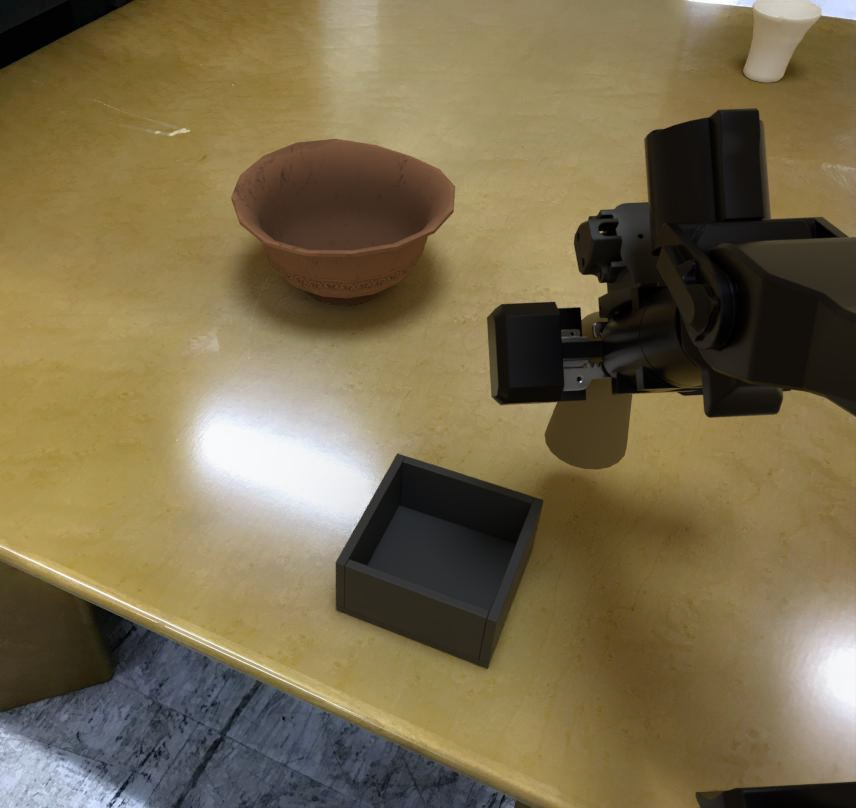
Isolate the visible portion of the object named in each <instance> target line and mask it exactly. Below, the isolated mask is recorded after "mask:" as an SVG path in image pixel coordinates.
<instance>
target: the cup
mask: <svg viewBox="0 0 856 808" xmlns="http://www.w3.org/2000/svg"><path fill="white" fill-rule="evenodd" d="M822 13H823V9H822V7H820V6H819V5H818V4H816V3H814V2H812V1H810V0H755V1H754V2H753V3H752V16H753V29H752V38H751V44H750V48H749V51H748V55H747V58H746V61H745V64H744V66H743V70H742V72H743V75H744V76H745V77H746V78H747V79H749V80H751V81H754V82H759V83H767V84H769V83H776V82H779V81H780V80H781V79H782V78H784V76H785V73H786V71H787V68H788V66H789V63H790V61H791V59H792V57H793V55H794V52H795V50H796V48H798V45H799V44H800V43H801V42H802V41H803V39H804V37H805V36H806V33H807V32H808V31H809V30H810V29H811V28H812V26H814V24H815V23H817V22H818V20H819V19H820V18H821V16H822Z"/></svg>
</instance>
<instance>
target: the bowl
mask: <svg viewBox="0 0 856 808" xmlns="http://www.w3.org/2000/svg"><path fill="white" fill-rule="evenodd" d="M230 198H231V203H232V205H233V209H234V211H235V214H236V217H237V221H238V223H239V225H240V226H241V227H243V228H244V229H245V230H246V231H247V232H248V233H250V234H251V235H252V236H253V237H254V238H256V239H257V240H258V241H259V242H260V243H262V245H263V248H264V250H265V254H266V256H267V258H268V260H269V263H270V265H271V267H272V269H273V270H274V271H275V272H276V273H277V275H279V276H280V277H282V278H283V280H285V281H287V282H288V283H289V284H290V285H292V286H293V287H295V288H296V289H298V290H301V291H304V292H305V293H306V294H308V295H309V296H310V297H311V298H313V300H316V301H318V302H321V303H324V304H327V305H329V306H330V305H331V306H343V307H348V306H355V305H360V304H364V303H366V302H368V301H370V300H373V299H375V298H377V297H378V296H379V295H380V293H381V292H383V291H384V290H387V289H389V288H391V287H394V286H395V285H397V284H398V283H400V282H402V280H403V279H404V278H406V276H408V274H409V273H410V272H411V270H412V269H413V268H414V267H415V266H416V265H417V264H418V262H419V261H420V259H421V257H422V255H423V252H424V251H425V246H426V243H427V240H428V237H430V236H432V235H434V234H435V233H436V232H437V231H438V230H439V229H440V228H441V227H442V226H443V225H444V223H446V222H447V220H448V219H449V218H450V217H452V215H453V214H454V211H455V199H456V186H455V184H454V183H453V182H452V181H451V180H450V179H449V178H448V177H447V175H446V174H445V172H443V171H442V169H440V168H438V167H436V166H434V165H431V164H429V163H427V162H426V161H423V160H421V159H418V158H417V157H414V156H413V155H412V156H411V155H409V154H405V153H402V152H399V151H397V150H393V149H391V148H387V147H385V146H384V147H383V146H381V145H378V144H372V143H366V142H360V141H353V140H348V139H347V140H346V139H339V138H329V139H319V140H308V141H299V142H294V143H292V144H289V145H287V146H285V147H281V148H280V149H277V150H275V151H271V152H270V153H267V154H264V155H262V156H261V157H260V158H259V159H257V160H256V161H255V162H254V163H252V164H251V166H249V167H248V168H247V169H245V170H244V171H243V172H242V173H241V174H239V176H238V179H237V182H236V184H235V187H234V188H233V191H232V194H231V196H230Z"/></svg>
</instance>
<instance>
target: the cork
mask: <svg viewBox="0 0 856 808" xmlns="http://www.w3.org/2000/svg"><path fill="white" fill-rule="evenodd" d="M581 321H582V337H586V336H587V338H588V341H601V338H600V336H599V335H598V338H596V339H594V337H593V335H592V325H593V324H594V323H596V322H608V321H607V318H600V317H599V310H598V311H594V312H591V313H589V314H587V315H585V316H584V317H583V318H581ZM594 362H597V365H598V366H599V363H600V362H603V361H602V359H589V363H591V366H592V365H593V363H594ZM632 401H633V394H623V395H612V385H611V378H602V379H592V380H591V381H590V384H589V385H588V387H587V388H586V400H583V401H561V402H556V403H555V406H554V409H553V412H552V414H551V416H550V418H549V421H548V424H547V426H546V429H545V431H544V440H545V444H546V446H547V448H548V450H549V451H550V452H551V453H552V454H553V455H554V456H555V457H556V458H557V459H558V460H559V461H562V462H563V463H566V464H568V465H569V466H571V467H575V468H579V469H583V470H603V469H608V468H611V467H612V466H614V465H616V464H618V463H620V461H622V459H623V458H624V457H625V456H626V452H627V447H628V440H629V430H630V422H631V421H630V420H631V411H632Z"/></svg>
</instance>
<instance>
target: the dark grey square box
mask: <svg viewBox="0 0 856 808" xmlns="http://www.w3.org/2000/svg"><path fill="white" fill-rule="evenodd" d="M543 506H544V499H542V498H539V497H536V496H533V495H531V494H527V493H524V492H520V491H517V490H514V489H512V488H508V487H504V486H501V485H500V484H499V485H498V484H495V483H492V482H489V481H486V480H483V479H479V478H476V477H473V476H471V475H467V474H464V473H461V472H458V471H454V470H451V469H449V468H444V467H442V466H439V465H435V464H432V463H429V462H426V461H423V460H420V459H417V458H415V457H410V456H407V455H404V454H402V453H396V455H395V456H394V458H393V460H392V462H391V463H390V465H389V467H388V469H387V471H386V473H385V474H384V476H383V478H382V479H381V481H380V483H379V485H378V486H377V488H376V490H375V492H374V494H373V495H372V497H371V499H370V501H369V503H368V504H367V506H366V507H365V509H364V511H363V513H362V515H361V516H360V518H359V520H358V522H357V523H356V526H355V527H354V529H353V531H352V533H351V534H350V535H349V538H348V539H347V542H346V543H345V544H344V547H343V549H342V550H341V552H340V554H339V555H338V557H337V559H336V561H335V610H336V611H338V612H341V613H343V614H345V615H349V616H351V617H354V618H356V619H358V620H361V621H364V622H366V623H369V624H372V625H374V626H376V627H380V628H381V629H385V630H387V631H389V632H393V633H395V634H398V635H400V636H402V637H405V638H408V639H410V640H413V641H415V642H418V643H420V644H422V645H424V646H428V647H430V648H433V649H436V650H438V651H441V652H444V653H446V654H448V655H451V656H454V657H456V658H459V659H461V660H464V661H467V662H469V663H472V664H475V665H477V666H480V667H482V668H485V669H489V667H490V663H491V661H492V658H493V656H494V653H495V650H496V648H497V645H498V642H499V640H500V637H501V634H502V631H503V629H504V627H505V624H506V621H507V618H508V615H509V613H510V610H511V607H512V605H513V602H514V599H515V597H516V594H517V593H518V589H519V586H520V584H521V581H522V578H523V576H524V574H525V571H526V567H527V565H528V563H529V560H530V557H531V555H532V551H533V549H534V545H535V540H536V536H537V531H538V528H539V524H540V519H541V514H542V512H543V511H542V510H543Z"/></svg>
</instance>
